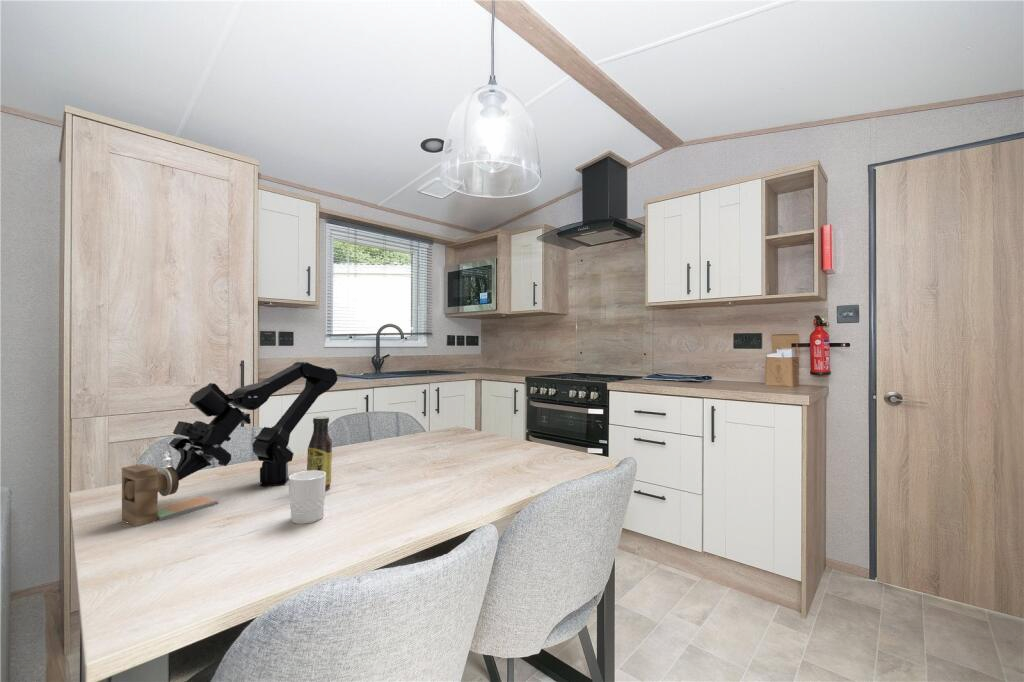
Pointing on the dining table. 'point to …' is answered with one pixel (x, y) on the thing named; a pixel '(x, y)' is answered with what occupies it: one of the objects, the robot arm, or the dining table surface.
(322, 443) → the sauce bottle
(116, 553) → the dining table surface
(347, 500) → the dining table surface
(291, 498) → the white cup
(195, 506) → the board
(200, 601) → the dining table surface
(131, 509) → the block
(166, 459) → the chess piece
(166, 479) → the peg
